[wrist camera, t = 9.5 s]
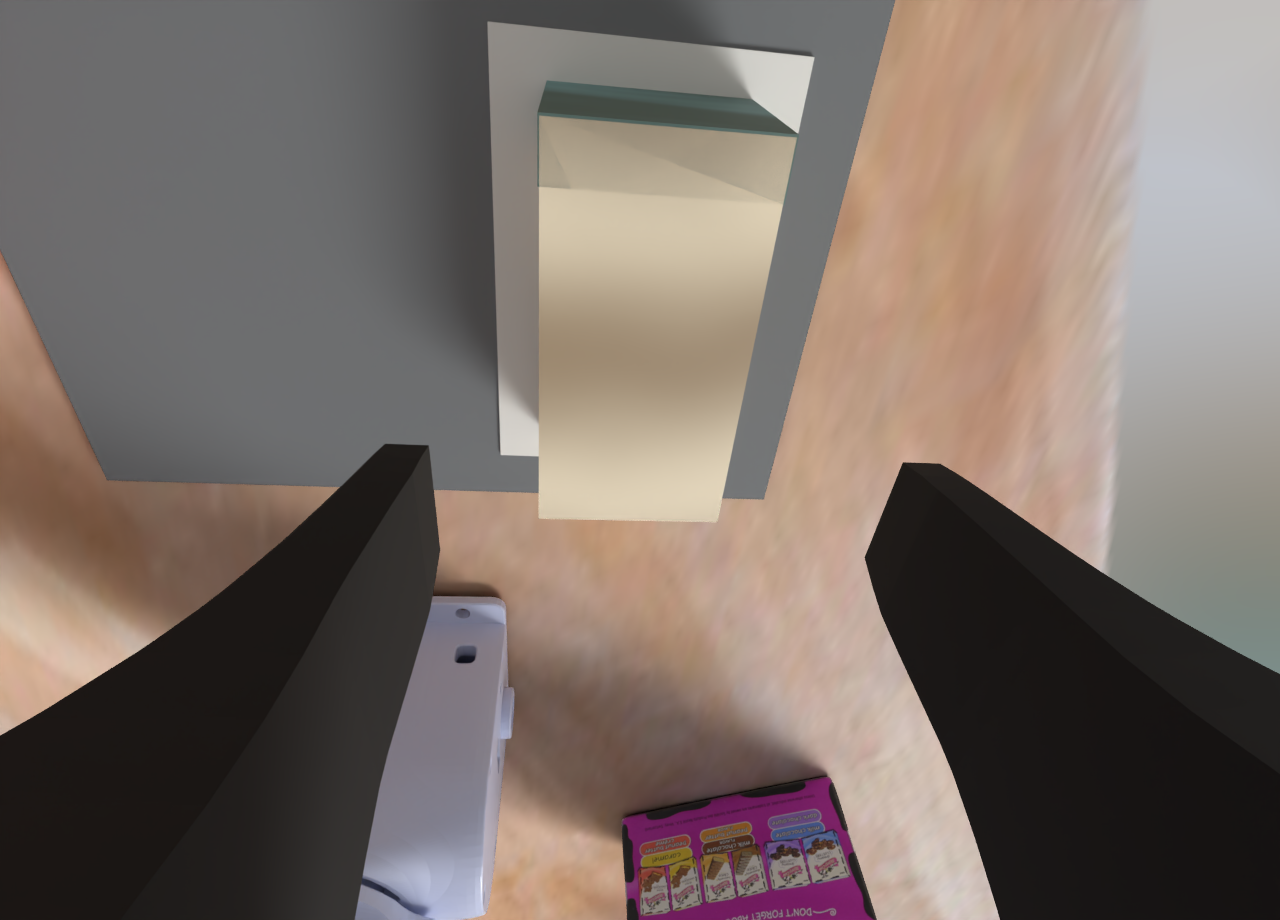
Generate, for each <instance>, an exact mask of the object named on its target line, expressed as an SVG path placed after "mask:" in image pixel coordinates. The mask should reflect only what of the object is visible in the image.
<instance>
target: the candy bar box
mask: <svg viewBox="0 0 1280 920" xmlns="http://www.w3.org/2000/svg"><path fill="white" fill-rule="evenodd" d="M622 841H623V859H624V874H625V893H626V906H627V920H877V919H876V916H875V913H874V909H873V906H872V903H871V900H870V896H869V893H868V890H867V887H866V884H865V881H864V878H863V875H862V872H861V868H860V865H859V862H858V859H857V856H856V853H855V850H854V847H853V844H852V841H851V838H850V835H849V832H848V828H847V824H846V821H845V817H844V814H843V811H842V808H841V805H840V802H839V798H838V795H837V793H836V790H835V787H834V784H833V782H832V780H831V778H830V777H819V778H814V779H810V780H805V781H799V782H794V783H789V784H784V785H779V786H774V787H769V788H764V789H758V790H754V791H749V792H744V793H739V794H734V795H729V796H724V797H719V798H714V799H710V800H705V801H700V802H695V803H690V804H685V805H681V806H676V807H671V808H666V809H661V810H656V811H651V812H646V813H642V814H636V815H631V816H627V817H625V818H623V819H622Z"/></svg>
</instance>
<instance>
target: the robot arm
mask: <svg viewBox="0 0 1280 920" xmlns="http://www.w3.org/2000/svg"><path fill="white" fill-rule="evenodd" d="M439 553H440V545H439V536H438V526H437V517H436V507H435V498H434V488H433V479H432V469H431V460H430V451H429V445H407V444H384V445H383V446H382V447H381V448H380V449H379V450H378V451H377V452H375V453H374V454H373V455H372V456H371V457H370V458H369V459H368V460H367V461H366V462H365V463H364V464H363V465H362V466H361V467H360V468H359V469H358V470H357V471H356V472H355V473H354V474H353V475H352V476H351V477H350V478H349V479H348V480H347V481H346V482H345V483H344V484H343V485H342V486H341V487H340V488H339V489H338V490H337V491H336V492H335V493H334V494H333V495H332V496H330V497H329V498H328V499H327V500H326V501H325V502H324V503H323V504H322V505H321V506H320V507H319V508H318V509H317V510H316V511H315V512H314V513H312V514H311V515H310V516H309V517H308V518H307V519H306V520H305V521H304V522H303V523H302V524H301V525H299V526H298V527H297V528H296V529H295V530H294V531H293V532H292V533H291V534H290V535H289V536H288V537H286V538H285V539H284V540H283V541H282V542H281V543H280V544H278V545H277V546H276V547H275V548H274V549H273V550H271V551H270V552H269V553H268V554H267V555H265V556H264V557H263V558H262V559H261V560H259V561H258V562H257V563H256V564H255V565H253V566H252V567H251V568H250V569H249V570H248V571H246V572H245V573H244V574H243V575H242V576H240V577H239V578H238V579H237V580H236V581H234V582H233V583H232V584H231V585H229V586H228V587H227V588H226V589H224V590H223V591H222V592H221V593H219V594H218V595H217V596H215V597H214V598H213V599H212V600H210V601H209V602H208V603H206V604H205V605H204V606H202V607H201V608H200V609H198V610H197V611H196V612H194V613H193V614H191V615H190V616H188V617H187V618H186V619H184V620H183V621H181V622H180V623H179V624H177V625H176V626H174V627H173V628H172V629H170V630H169V631H167V632H166V633H164V634H163V635H162V636H160V637H159V638H157V639H156V640H155V641H153V642H152V643H150V644H149V645H147V646H146V647H144V648H143V649H141V650H140V651H138V652H137V653H135V654H134V655H132V656H130V657H129V658H127V659H126V660H124V661H122V662H121V663H119V664H118V665H116V666H114V667H113V668H111V669H110V670H108V671H106V672H105V673H103V674H102V675H100V676H98V677H97V678H95V679H94V680H92V681H90V682H89V683H87V684H86V685H84V686H82V687H81V688H79V689H78V690H76V691H75V692H73V693H71V694H70V695H68V696H67V697H65V698H63V699H62V700H60V701H59V702H57V703H55V704H54V705H52V706H51V707H49V708H47V709H46V710H44V711H42V712H41V713H39V714H37V715H36V716H34V717H32V718H30V719H29V720H27V721H25V722H23V723H22V724H20V725H18V726H16V727H15V728H13V729H11V730H9V731H8V732H6V733H4V734H2V735H1V736H0V920H461V919H469V918H474V917H479V916H482V915H484V914H486V912H487V909H488V905H489V900H490V893H491V886H492V879H493V871H494V862H495V852H496V842H497V831H498V821H499V810H500V800H501V789H502V779H503V768H504V758H505V747H506V739H510V738H511V737H512V731H513V719H514V688H513V687H508V656H507V622H506V605H505V603H504V602H503V601H502V600H501V599H499V598H496V597H460V596H433V591H434V585H435V579H436V572H437V566H438V559H439ZM865 561H866V564H867V568H868V571H869V575H870V579H871V582H872V586H873V590H874V593H875V596H876V599H877V602H878V605H879V609H880V612H881V615H882V617H883V619H884V622H885V624H886V626H887V629H888V631H889V633H890V635H891V637H892V640H893V642H894V644H895V646H896V649H897V651H898V653H899V655H900V657H901V660H902V662H903V664H904V666H905V668H906V670H907V673H908V675H909V677H910V679H911V681H912V683H913V685H914V688H915V690H916V692H917V694H918V696H919V698H920V701H921V703H922V705H923V707H924V709H925V711H926V714H927V716H928V718H929V720H930V722H931V724H932V726H933V729H934V731H935V733H936V735H937V737H938V739H939V742H940V744H941V746H942V749H943V751H944V753H945V756H946V758H947V761H948V763H949V766H950V768H951V770H952V773H953V776H954V778H955V781H956V784H957V787H958V790H959V793H960V796H961V799H962V802H963V805H964V807H965V810H966V813H967V816H968V819H969V822H970V825H971V828H972V831H973V834H974V837H975V840H976V843H977V846H978V849H979V852H980V856H981V859H982V862H983V865H984V868H985V872H986V875H987V878H988V881H989V884H990V888H991V891H992V894H993V897H994V901H995V904H996V907H997V910H998V914H999V918H1000V920H1280V674H1279V673H1277V672H1274V671H1273V670H1271V669H1269V668H1267V667H1265V666H1263V665H1261V664H1259V663H1257V662H1255V661H1253V660H1251V659H1249V658H1247V657H1245V656H1243V655H1242V654H1240V653H1238V652H1236V651H1234V650H1232V649H1230V648H1228V647H1227V646H1225V645H1223V644H1221V643H1219V642H1218V641H1216V640H1214V639H1212V638H1211V637H1209V636H1207V635H1205V634H1203V633H1202V632H1200V631H1198V630H1196V629H1194V628H1193V627H1191V626H1189V625H1187V624H1185V623H1184V622H1182V621H1180V620H1178V619H1177V618H1175V617H1173V616H1171V615H1170V614H1168V613H1166V612H1165V611H1163V610H1161V609H1160V608H1158V607H1156V606H1155V605H1153V604H1151V603H1150V602H1148V601H1146V600H1145V599H1143V598H1142V597H1140V596H1138V595H1137V594H1135V593H1133V592H1132V591H1130V590H1129V589H1127V588H1126V587H1124V586H1123V585H1121V584H1119V583H1118V582H1116V581H1114V580H1113V579H1111V578H1110V577H1108V576H1107V575H1105V574H1104V573H1102V572H1100V571H1099V570H1097V569H1096V568H1094V567H1093V566H1091V565H1090V564H1088V563H1087V562H1085V561H1084V560H1082V559H1081V558H1079V557H1078V556H1076V555H1075V554H1073V553H1072V552H1070V551H1069V550H1067V549H1066V548H1064V547H1063V546H1062V545H1060V544H1059V543H1057V542H1056V541H1054V540H1053V539H1051V538H1050V537H1048V536H1047V535H1046V534H1044V533H1043V532H1041V531H1040V530H1038V529H1037V528H1035V527H1034V526H1033V525H1031V524H1030V523H1028V522H1027V521H1025V520H1024V519H1023V518H1021V517H1020V516H1018V515H1017V514H1015V513H1014V512H1013V511H1011V510H1010V509H1008V508H1007V507H1005V506H1004V505H1003V504H1001V503H1000V502H998V501H997V500H995V499H994V498H993V497H991V496H990V495H988V494H987V493H985V492H984V491H982V490H981V489H979V488H978V487H976V486H975V485H973V484H972V483H971V482H969V481H967V480H966V479H964V478H963V477H961V476H960V475H958V474H956V473H955V472H953V471H952V470H950V469H948V468H946V467H945V466H943V465H941V464H932V463H904V462H903V464H902V466H901V469H900V471H899V474H898V476H897V479H896V481H895V484H894V486H893V489H892V491H891V494H890V496H889V499H888V501H887V504H886V506H885V508H884V511H883V513H882V516H881V518H880V521H879V523H878V526H877V528H876V531H875V533H874V536H873V538H872V541H871V543H870V546H869V548H868V551H867V553H866V556H865ZM461 609H467V610H461Z"/></svg>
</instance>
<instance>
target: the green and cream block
mask: <svg viewBox="0 0 1280 920" xmlns="http://www.w3.org/2000/svg"><path fill="white" fill-rule="evenodd" d="M798 139H799V134H798V133H796V132H795V131H794V130H792V129H791V128H790V127H788V126H787V125H786V124H784V123H783V122H782V121H781V120H779V119H778V118H777V117H775V116H774V115H773V114H771V113H770V112H769V111H767V110H766V109H765V108H763V107H762V106H761V105H759V104H758V103H757V102H755V101H754V100H753V99H745V98H734V97H723V96H713V95H702V94H691V93H680V92H669V91H658V90H647V89H636V88H625V87H614V86H603V85H592V84H581V83H570V82H559V81H548V80H547V81H546V85H545V88H544V91H543V95H542V98H541V102H540V105H539V108H538V112H537V187H539V519H579V520H630V521H682V522H717V521H718V516H719V511H720V506H721V502H722V497H723V492H724V487H725V482H726V478H727V473H728V468H729V463H730V458H731V453H732V449H733V444H734V439H735V434H736V429H737V425H738V420H739V415H740V410H741V405H742V400H743V396H744V391H745V386H746V381H747V376H748V372H749V367H750V362H751V357H752V352H753V347H754V343H755V338H756V333H757V328H758V323H759V319H760V314H761V309H762V304H763V299H764V294H765V290H766V285H767V280H768V275H769V270H770V265H771V261H772V256H773V251H774V246H775V241H776V237H777V232H778V227H779V222H780V217H781V212H782V208H783V205H785V201H786V196H787V191H788V186H789V182H790V177H791V172H792V167H793V163H794V158H795V153H796V148H797V143H798Z"/></svg>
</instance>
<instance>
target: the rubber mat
mask: <svg viewBox="0 0 1280 920" xmlns="http://www.w3.org/2000/svg"><path fill="white" fill-rule="evenodd" d="M894 3H895V0H0V250H1V253H2V255H3V257H4V259H5V261H6V263H7V266H8V268H9V270H10V272H11V274H12V276H13V278H14V281H15V283H16V285H17V287H18V289H19V291H20V294H21V296H22V298H23V300H24V302H25V304H26V306H27V309H28V311H29V313H30V315H31V317H32V319H33V322H34V324H35V326H36V328H37V330H38V332H39V334H40V337H41V339H42V341H43V343H44V345H45V347H46V350H47V352H48V354H49V356H50V358H51V360H52V362H53V365H54V367H55V369H56V371H57V373H58V375H59V378H60V380H61V382H62V384H63V386H64V388H65V390H66V393H67V395H68V397H69V399H70V401H71V403H72V406H73V408H74V410H75V412H76V414H77V416H78V418H79V421H80V423H81V425H82V427H83V429H84V431H85V434H86V436H87V438H88V440H89V442H90V444H91V446H92V449H93V451H94V453H95V455H96V457H97V459H98V461H99V464H100V466H101V468H102V470H103V472H104V474H105V477H106V479H107V480H118V481H152V482H186V483H220V484H254V485H288V486H323V487H341V486H342V485H343V484H344V483H345V482H346V481H347V480H348V479H349V478H350V477H351V476H352V475H353V474H354V473H355V472H356V471H357V470H358V469H359V468H360V467H361V466H362V465H363V464H364V463H365V462H366V461H367V460H368V459H369V458H370V457H371V456H372V455H373V454H374V453H375V452H377V451H378V450H379V449H380V448H381V447H382V446H383V445H384V444H407V445H429V451H430V460H431V469H432V479H433V488H434V490H459V491H493V492H527V493H539V187H537V112H538V108H539V105H540V102H541V98H542V95H543V91H544V88H545V85H546V81H547V80H548V81H559V82H570V83H581V84H592V85H603V86H614V87H625V88H636V89H647V90H658V91H669V92H680V93H691V94H702V95H713V96H723V97H734V98H745V99H753V100H754V101H755V102H757V103H758V104H759V105H761V106H762V107H763V108H765V109H766V110H767V111H769V112H770V113H771V114H773V115H774V116H775V117H777V118H778V119H779V120H781V121H782V122H783V123H784V124H786V125H787V126H788V127H790V128H791V129H792V130H794V131H795V132H796V133H798V134H799V139H798V143H797V148H796V153H795V158H794V163H793V167H792V172H791V177H790V182H789V186H788V191H787V196H786V201H785V205H783V208H782V212H781V217H780V222H779V227H778V232H777V237H776V241H775V246H774V251H773V256H772V261H771V265H770V270H769V275H768V280H767V285H766V290H765V294H764V299H763V304H762V309H761V314H760V319H759V323H758V328H757V333H756V338H755V343H754V347H753V352H752V357H751V362H750V367H749V372H748V376H747V381H746V386H745V391H744V396H743V400H742V405H741V410H740V415H739V420H738V425H737V429H736V434H735V439H734V444H733V449H732V453H731V458H730V463H729V468H728V473H727V478H726V482H725V487H724V492H723V497H722V498H732V499H764V496H765V492H766V489H767V485H768V481H769V477H770V473H771V470H772V466H773V462H774V458H775V454H776V451H777V447H778V443H779V439H780V435H781V432H782V428H783V424H784V420H785V416H786V413H787V409H788V405H789V401H790V398H791V394H792V390H793V386H794V382H795V379H796V375H797V371H798V367H799V363H800V360H801V356H802V352H803V348H804V344H805V341H806V337H807V333H808V329H809V325H810V322H811V318H812V314H813V310H814V306H815V303H816V299H817V295H818V291H819V288H820V284H821V280H822V276H823V272H824V269H825V265H826V261H827V257H828V253H829V250H830V246H831V242H832V238H833V234H834V231H835V227H836V223H837V219H838V215H839V212H840V208H841V204H842V200H843V196H844V193H845V189H846V185H847V181H848V177H849V174H850V170H851V166H852V162H853V159H854V155H855V151H856V147H857V143H858V140H859V136H860V132H861V128H862V124H863V121H864V117H865V113H866V109H867V105H868V102H869V98H870V94H871V90H872V86H873V83H874V79H875V75H876V71H877V67H878V64H879V60H880V56H881V52H882V49H883V45H884V41H885V37H886V33H887V30H888V26H889V22H890V18H891V14H892V11H893V7H894Z"/></svg>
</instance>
